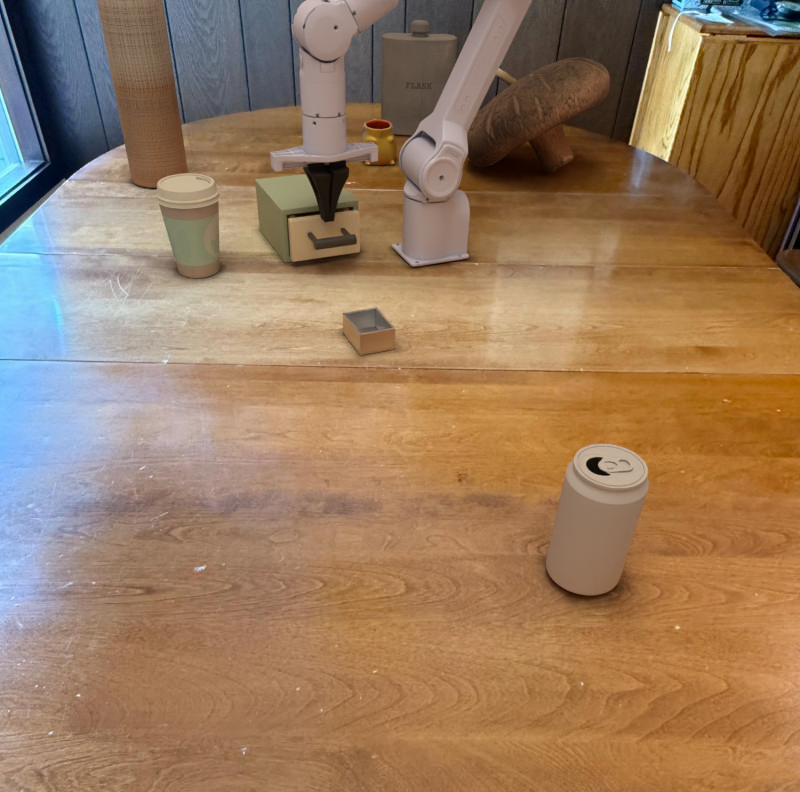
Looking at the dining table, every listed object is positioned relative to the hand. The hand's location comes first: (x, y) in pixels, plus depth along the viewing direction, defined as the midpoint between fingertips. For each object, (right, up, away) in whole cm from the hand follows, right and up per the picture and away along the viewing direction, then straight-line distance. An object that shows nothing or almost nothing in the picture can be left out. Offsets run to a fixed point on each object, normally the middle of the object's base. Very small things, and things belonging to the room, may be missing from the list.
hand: (327, 219), depth 109 cm
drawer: (-2, -1, +7) cm, 8 cm away
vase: (-33, +19, +30) cm, 48 cm away
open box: (+6, -20, -12) cm, 24 cm away
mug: (+6, +29, +43) cm, 52 cm away
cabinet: (-4, +1, +11) cm, 12 cm away
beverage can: (+26, -48, -42) cm, 69 cm away
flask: (+14, +41, +56) cm, 71 cm away
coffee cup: (-19, -7, +2) cm, 20 cm away
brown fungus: (+35, +26, +40) cm, 59 cm away
